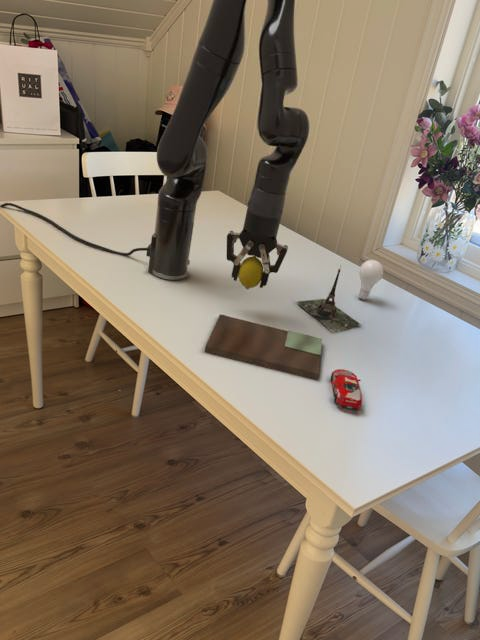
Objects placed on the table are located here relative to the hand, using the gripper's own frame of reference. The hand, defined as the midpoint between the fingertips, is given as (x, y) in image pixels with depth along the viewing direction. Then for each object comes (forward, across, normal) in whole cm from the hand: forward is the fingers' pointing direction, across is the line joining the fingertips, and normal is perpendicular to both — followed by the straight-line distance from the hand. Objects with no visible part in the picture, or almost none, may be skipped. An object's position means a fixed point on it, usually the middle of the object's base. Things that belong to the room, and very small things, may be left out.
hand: (248, 282), depth 138 cm
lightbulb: (+8, -29, -28) cm, 41 cm away
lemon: (+2, 0, 0) cm, 2 cm away
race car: (+8, -26, +24) cm, 37 cm away
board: (+8, -8, +14) cm, 18 cm away
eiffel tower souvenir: (+8, -20, -11) cm, 25 cm away
